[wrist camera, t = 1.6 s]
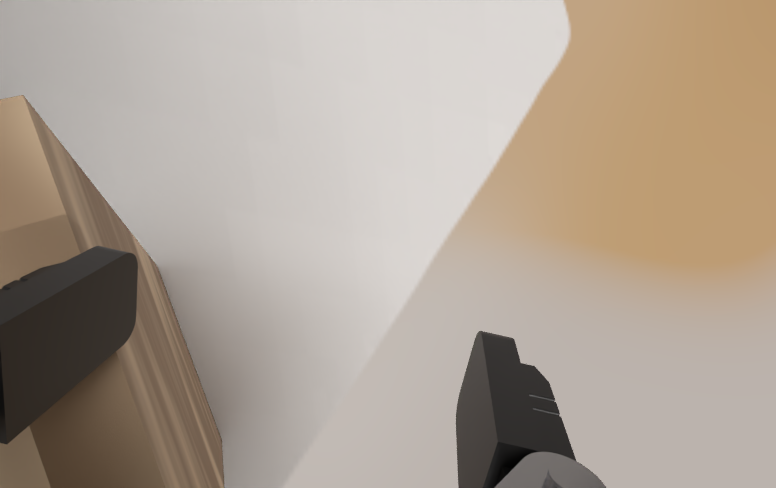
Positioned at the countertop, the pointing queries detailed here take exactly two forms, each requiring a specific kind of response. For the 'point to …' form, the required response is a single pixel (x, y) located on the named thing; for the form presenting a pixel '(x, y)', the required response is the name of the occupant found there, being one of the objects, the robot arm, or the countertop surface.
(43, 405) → the robot arm
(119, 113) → the countertop surface
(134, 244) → the wooden l-shaped stand
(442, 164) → the countertop surface
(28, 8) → the countertop surface
